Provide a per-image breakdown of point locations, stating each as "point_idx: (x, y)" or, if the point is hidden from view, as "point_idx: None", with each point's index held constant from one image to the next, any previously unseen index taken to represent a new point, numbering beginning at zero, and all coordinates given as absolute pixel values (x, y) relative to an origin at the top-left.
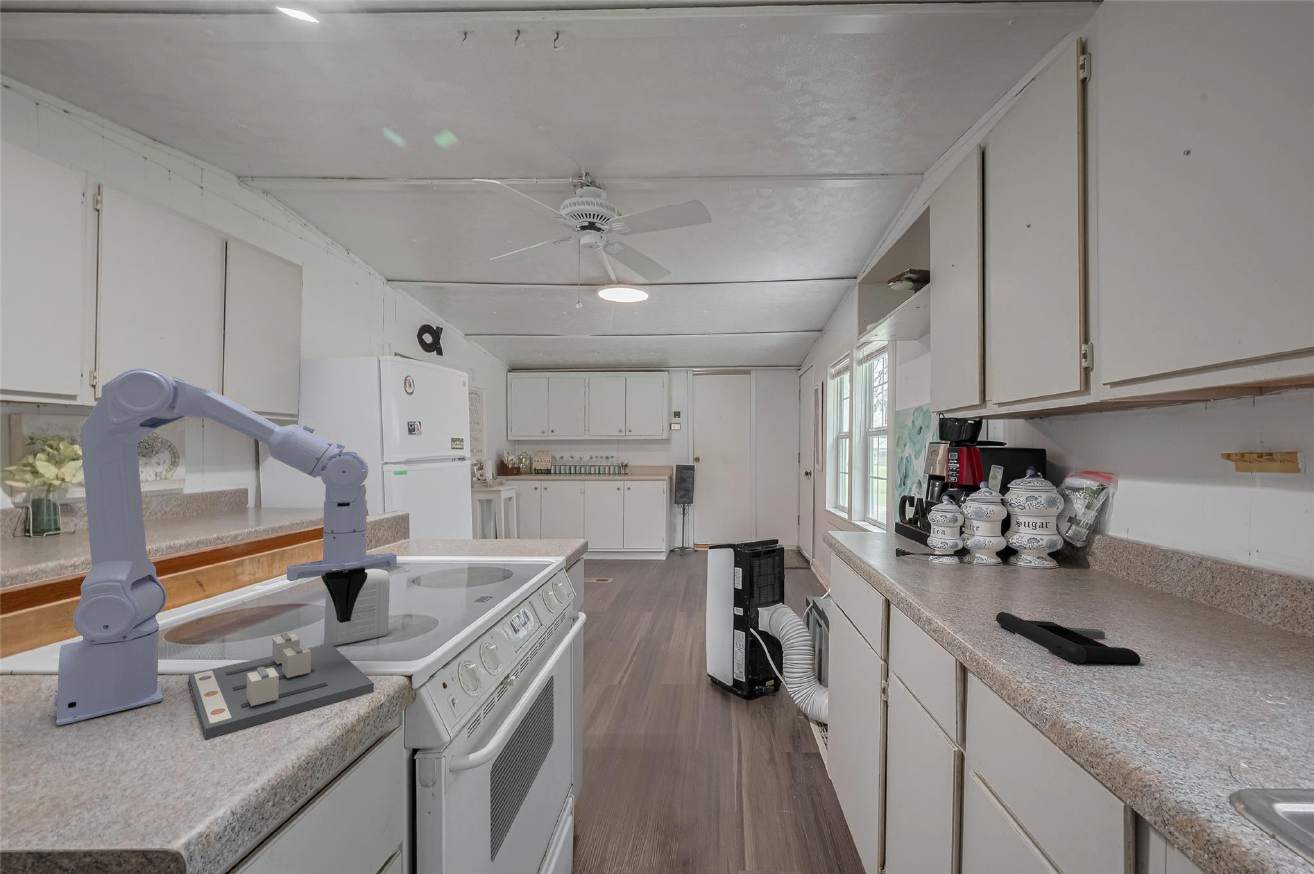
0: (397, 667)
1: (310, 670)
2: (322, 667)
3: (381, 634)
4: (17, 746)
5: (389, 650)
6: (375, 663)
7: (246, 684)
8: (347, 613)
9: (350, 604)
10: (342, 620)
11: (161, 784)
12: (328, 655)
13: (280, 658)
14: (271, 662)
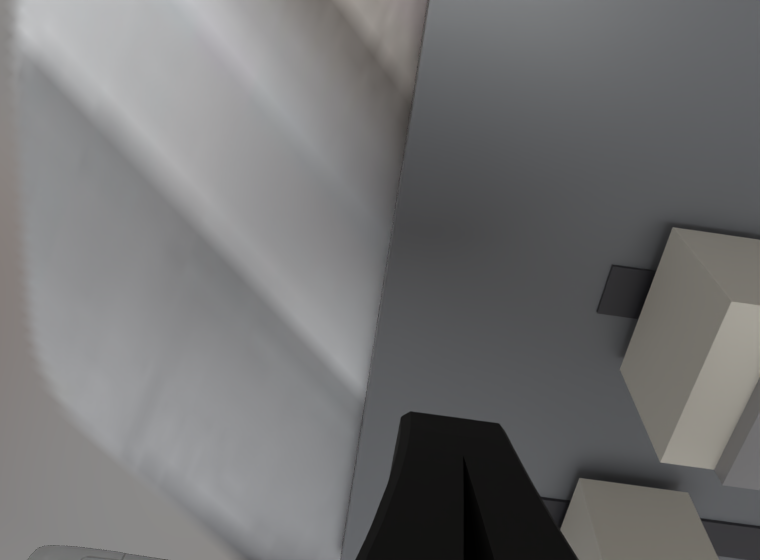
0: (155, 6)
1: (678, 230)
2: (550, 287)
3: (68, 552)
4: None
5: (99, 341)
6: (239, 205)
7: None
8: (455, 467)
9: (428, 550)
10: (496, 431)
11: None
12: None
13: (680, 513)
14: None
